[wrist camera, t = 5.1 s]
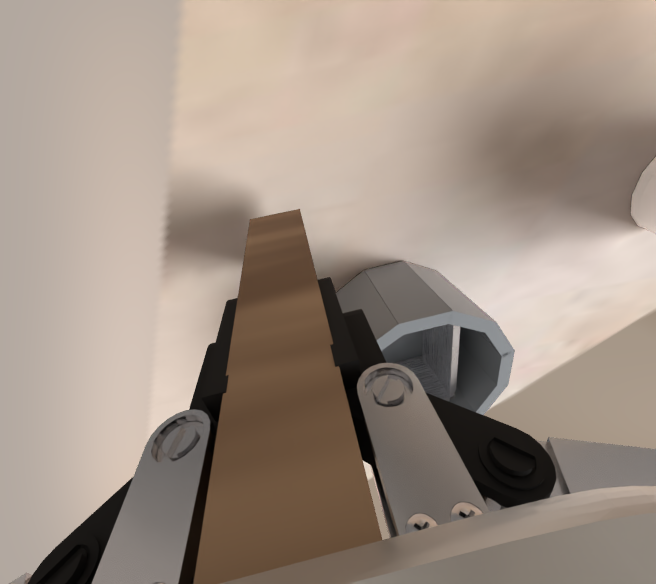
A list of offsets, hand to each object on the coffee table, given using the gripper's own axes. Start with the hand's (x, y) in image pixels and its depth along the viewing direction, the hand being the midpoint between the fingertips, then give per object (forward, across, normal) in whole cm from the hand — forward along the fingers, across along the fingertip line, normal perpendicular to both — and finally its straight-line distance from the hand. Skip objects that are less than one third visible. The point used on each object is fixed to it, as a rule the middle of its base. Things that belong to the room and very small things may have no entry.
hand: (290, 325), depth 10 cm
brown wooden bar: (+6, 0, 0) cm, 6 cm away
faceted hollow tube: (+8, -6, +8) cm, 13 cm away
